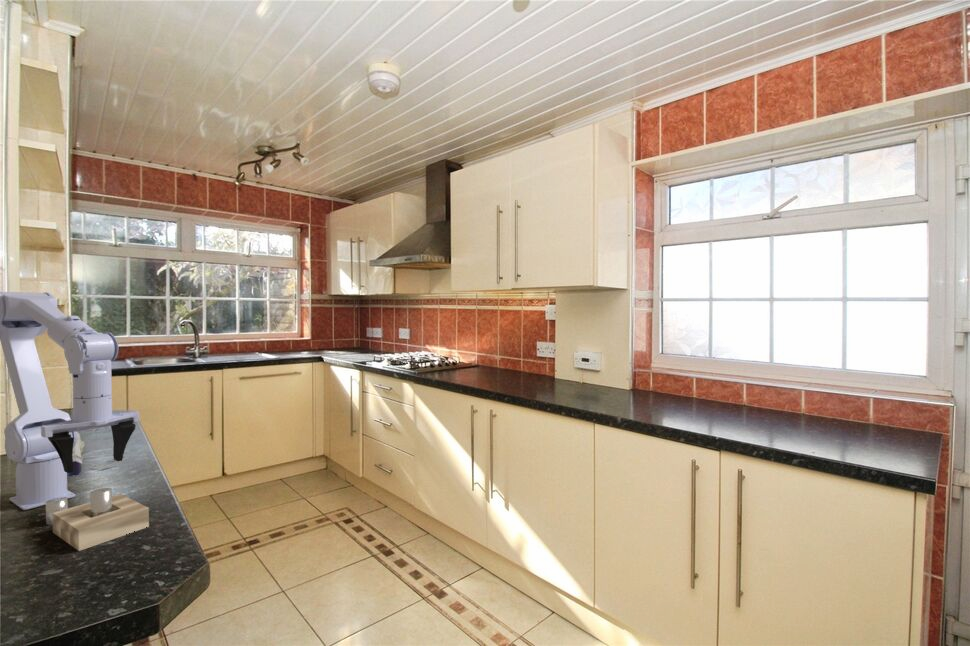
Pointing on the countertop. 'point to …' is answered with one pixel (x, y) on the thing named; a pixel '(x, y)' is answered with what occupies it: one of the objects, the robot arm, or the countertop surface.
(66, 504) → the short steel pin
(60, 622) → the countertop surface
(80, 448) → the white and blue bar
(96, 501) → the long steel pin
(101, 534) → the birch board
